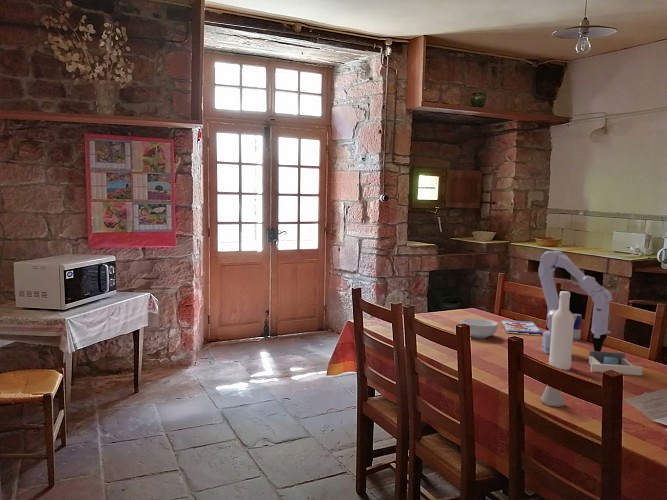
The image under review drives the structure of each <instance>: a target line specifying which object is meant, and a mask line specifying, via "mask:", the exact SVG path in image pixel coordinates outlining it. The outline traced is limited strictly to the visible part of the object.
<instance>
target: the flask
mask: <svg viewBox="0 0 667 500" xmlns="http://www.w3.org/2000/svg"><path fill="white" fill-rule="evenodd" d="M545 387H546V388H545V389H544V391H543V392H542V395H541V397H540V402H541V403H542V404H544V405H545V406H549V407H556V408H557V407H558V408H559V407H564V406H566V404H565V401H564V398H563V395H562V390H561V391H558V390H556V389H554V388H551V387H549V386H547V385H546V386H545Z"/></svg>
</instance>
